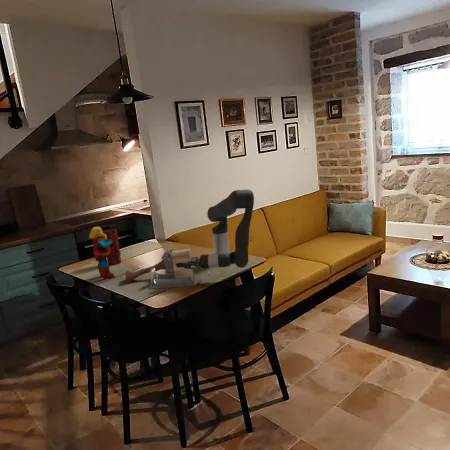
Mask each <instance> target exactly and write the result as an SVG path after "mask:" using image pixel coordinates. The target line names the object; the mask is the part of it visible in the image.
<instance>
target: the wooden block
mask: <svg viewBox="0 0 450 450" xmlns="http://www.w3.org/2000/svg"><path fill="white" fill-rule="evenodd" d="M191 258H192V255H191V249H190V248H187V249H186V248H185V249H175V250H174V249H173V251H172V259H173V266H174V274H175V278H185V277H192V281H193V272H194V271H193V270H194V269H185V268H184V267H178V268H177V267H176V264H177V263H184V262H188V261H191ZM187 266H188V265H187Z"/></svg>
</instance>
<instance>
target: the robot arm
mask: <svg viewBox="0 0 450 450" xmlns="http://www.w3.org/2000/svg"><path fill="white" fill-rule="evenodd" d="M254 203H255V196H254V193H253V191H252V190H251V189H236V190H233V191H232V192H231V193H230V194H229V195H227V197H226V198H224V199H222V200H221V201H220V202H218V203H217V204H215V205H212V206H210V207H209V208H208V209H207V212H206V213H207V214H206V216H207V218H208V220H209V221H210V222H212V223H217V222H218V224H216V225H215V226H214V227H212V229H211V234H212V242H213V243H212V245H213V253H211V254H201V255H199V257H198V256H191V261H188V262H184V263H177V264H176V267H177V268H178V267H184V268H185V269H193V270H194V269H195V270H196V268H198V267H200V269H201V270H209V269H210V270H211V269H218V268H228V267H230V266H231V265H236V267H237V268H241V269H242V268H245V267H247V266H248V263H249V244H250V227H251V221H252V217H253V210H254V206H255V205H254ZM240 209H241V210H242V209H244V213H243V216H242V217H241V221H240V222H239V223H238V225H237V227H236V229H235V234H234V251H231V252H230V243H229V242H230V241H229V233H228V228H229V226H228V217H230V216H232V215H234V214H235V213H236V212H237V210H240ZM187 265H188V266H187Z"/></svg>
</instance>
